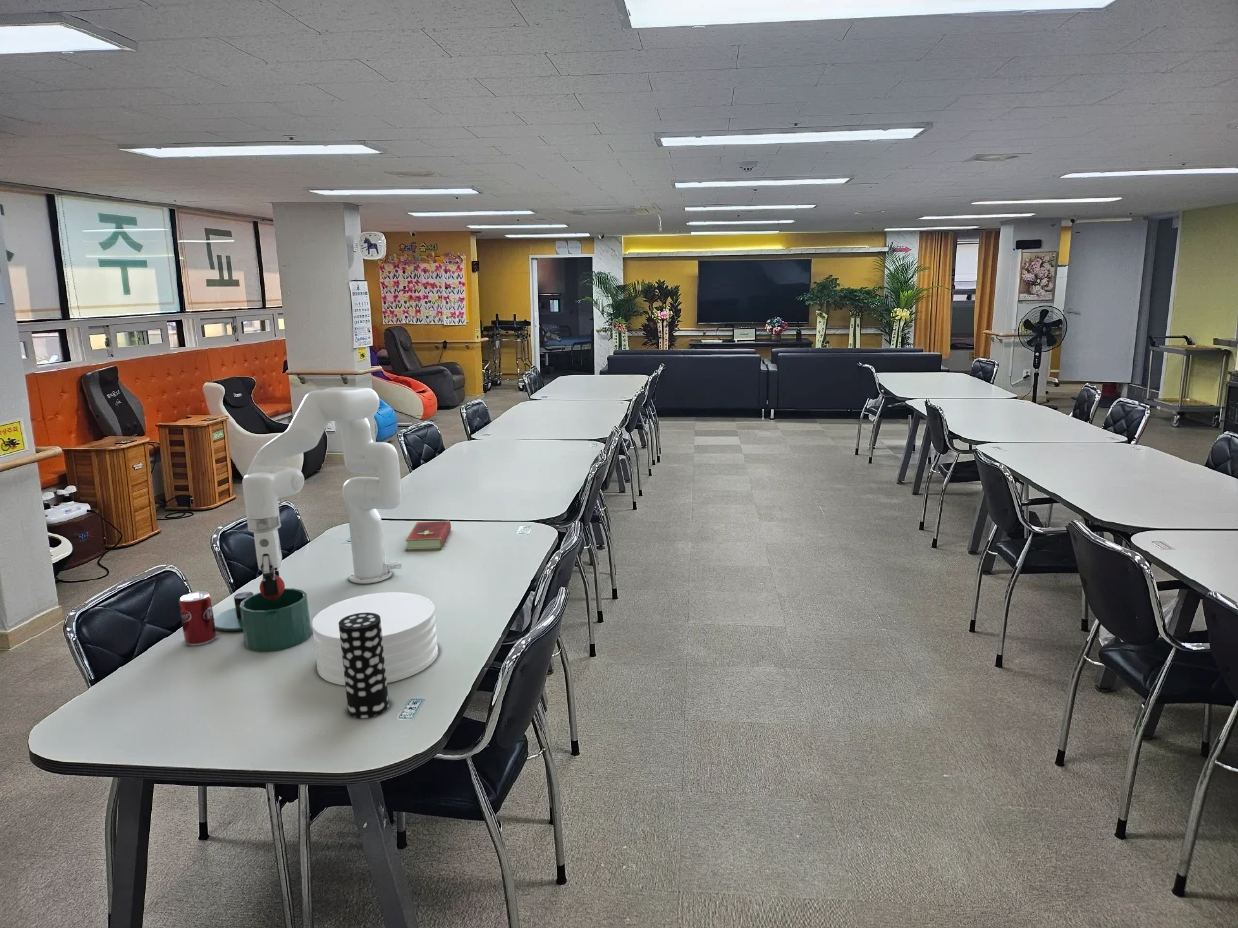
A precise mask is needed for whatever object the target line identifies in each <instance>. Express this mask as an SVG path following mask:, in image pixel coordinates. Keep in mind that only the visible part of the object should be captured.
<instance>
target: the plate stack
mask: <svg viewBox="0 0 1238 928" xmlns="http://www.w3.org/2000/svg"><path fill="white" fill-rule="evenodd" d="M435 607H436V606H435V604H434V602H432V600H431V599H429V598H428V597H425V596H423V595H420V594H416V593H410V592H401V591H400V592H398V591H390V592H389V591H386V592H375V593H367V594H361V595H358V596H354V597H350V598H347V599H344V600H340V601H338V602H335V603H332V604H331V605H329V606H327V607H325V608H324V609H322V610H320V611H319V612H317V614H315V616H314V617H313V619H312V622H311V627H312V636H313V642H314V643H313V644H314V651H315V661H316V668H317V673H318V675H319V676H320V677H321V678H322V679H324V680H325V681H326V682H329V683H331V684H335V685H339V686H345V677H344V668H343V659H342V650H341V641H340V632H339V621H340V620H341V619H343V618H344V617H347V616H349V615H352V614H357V613H375V614H378V615H379V616H380V619H381V629H382V639H383V649H384V660H385V670H386V680H387V684H390V683H394V682H397V681H401V680H405V679H407V678H409V677H412V676H414V675H417V674H419V673H421V672H422V671H424V670H425V669H427V668H428V667H430V666H431V665H432V664H433V663H434V662H435V660H436V659H437V657H438V656H439V655H438V654H439V646H438V635H437V625H436V622H437V619H436V609H435Z"/></svg>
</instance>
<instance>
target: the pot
mask: <svg viewBox="0 0 1238 928" xmlns="http://www.w3.org/2000/svg"><path fill="white" fill-rule="evenodd" d="M308 601H309V600H308V593H307V592H306V591H304V590H302V589H299V588H292V587H291V588H288V587H287V588H285V589H284V592H283V593H282V595H281V596H280V597H279V598H278V599H277V600H276V601H271V600H269V599H266V598H265V597H263V596H262V594H261V592H256V593H255V594H254V593H253V595H252V596H249V597H247V598H246V599H245V600H243V601H242V602H241V604H240V612H241V619H242V626H243V630H242V632H243V639H244V644H245V646H246V647H247V648H248V649H249V650H252V651H256V652H275V651H281V650H286V649H288V648H291V647H294V646H297V645H300V644H301V643H303V642H305V641H306V640H308V638H309V637H310V636H311V634H312V629H311V627H312V626H311V619H310V610H309V602H308Z"/></svg>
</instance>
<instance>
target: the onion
mask: <svg viewBox="0 0 1238 928" xmlns="http://www.w3.org/2000/svg"><path fill="white" fill-rule="evenodd" d="M270 572H271V573H272V571H270ZM275 579H277V586H278V595H273V596H265V595H264V588H263V579H262V580H261V581H260V583H259V591H260V592H261V594H262V596H263V597H265V598H266V599H269V600H271V601H276V600H277V599H278V598H279V597H280V596H281V595H282V593H283V592H284V589H285V587H286V585H285V582H284V580H283V579H282V578H281V577H280V575H279V576H277V575H275ZM260 592H259V593H260Z"/></svg>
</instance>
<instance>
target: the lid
mask: <svg viewBox="0 0 1238 928" xmlns="http://www.w3.org/2000/svg"><path fill="white" fill-rule="evenodd" d="M252 595H254V592H252V591H242V592H239V593H236V594H234V595H233V602H234V607H233V608H230V609H227V610H225V611H222V612H220V613H219V614H217V615H216V616H214V623H215V629H216V630H220V631H230V632H231V631H232V632H233V631H235V632H236V631H243V626H242V619H241V612H240V604H241V602H242V601H243V600H245V599H246V598H247V597H249V596H252Z"/></svg>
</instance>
